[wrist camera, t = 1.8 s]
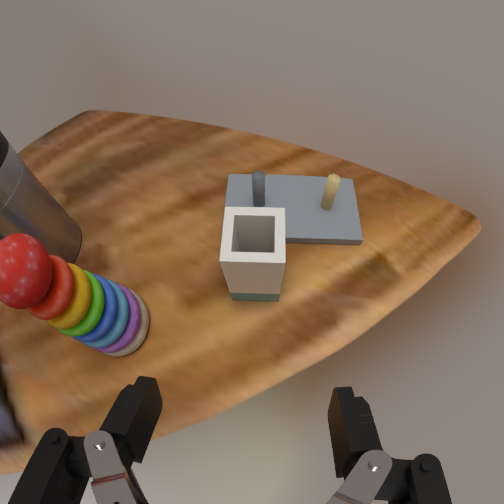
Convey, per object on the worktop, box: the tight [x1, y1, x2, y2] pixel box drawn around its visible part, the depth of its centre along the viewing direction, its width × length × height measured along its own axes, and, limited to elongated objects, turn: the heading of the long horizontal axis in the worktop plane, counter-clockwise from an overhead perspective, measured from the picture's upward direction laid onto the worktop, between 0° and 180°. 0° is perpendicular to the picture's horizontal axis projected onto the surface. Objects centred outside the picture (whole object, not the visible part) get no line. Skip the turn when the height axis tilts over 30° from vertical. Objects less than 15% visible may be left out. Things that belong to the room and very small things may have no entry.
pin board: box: [222, 171, 363, 245], centre depth 32 cm, size 16×9×6 cm, turn 87°
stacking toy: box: [0, 233, 149, 357], centre depth 21 cm, size 8×8×19 cm
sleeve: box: [220, 207, 285, 301], centre depth 27 cm, size 5×5×10 cm
